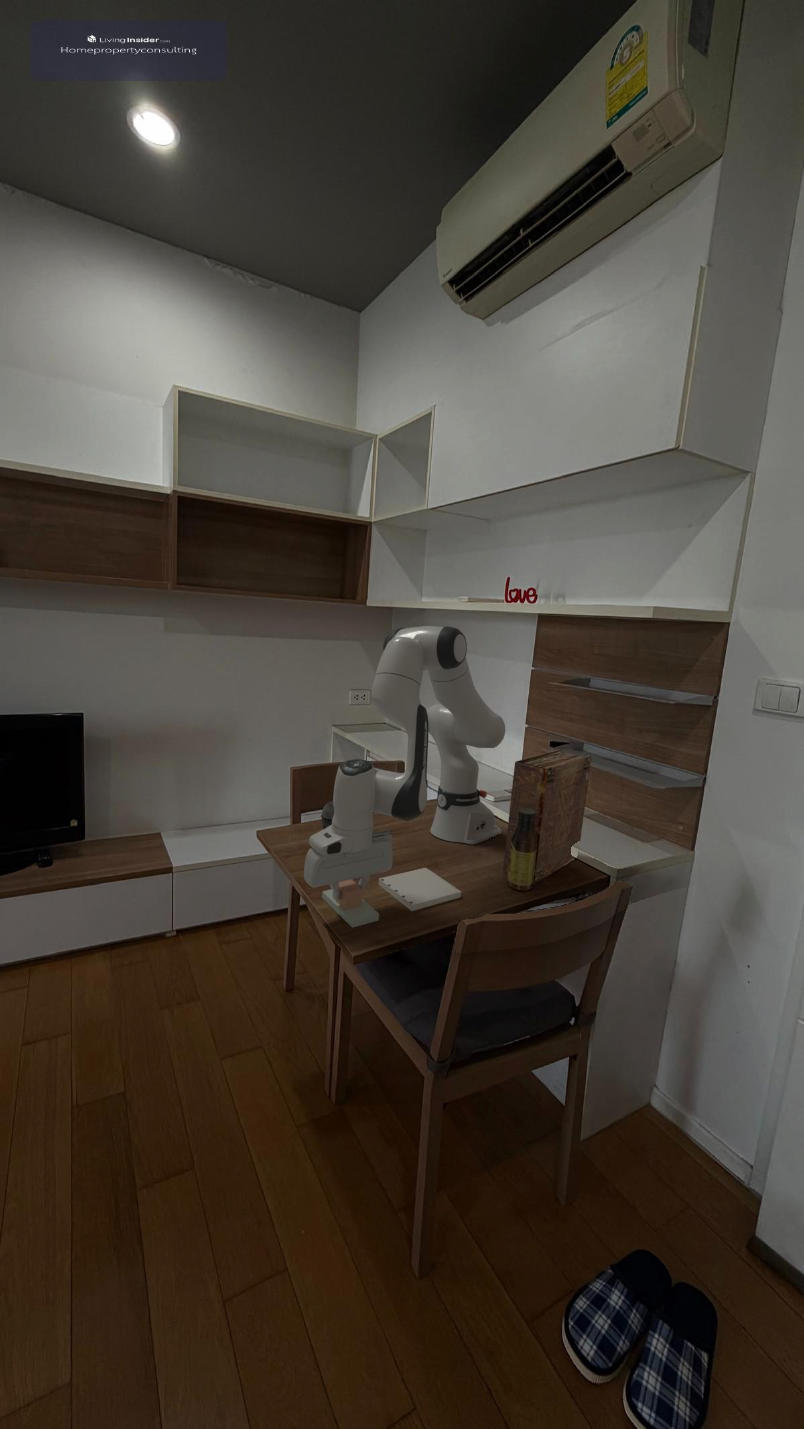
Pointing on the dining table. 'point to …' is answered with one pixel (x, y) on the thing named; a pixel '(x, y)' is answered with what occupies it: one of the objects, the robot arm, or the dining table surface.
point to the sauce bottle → (523, 852)
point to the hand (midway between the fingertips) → (348, 896)
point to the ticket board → (419, 888)
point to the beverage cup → (327, 814)
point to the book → (550, 806)
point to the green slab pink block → (351, 904)
